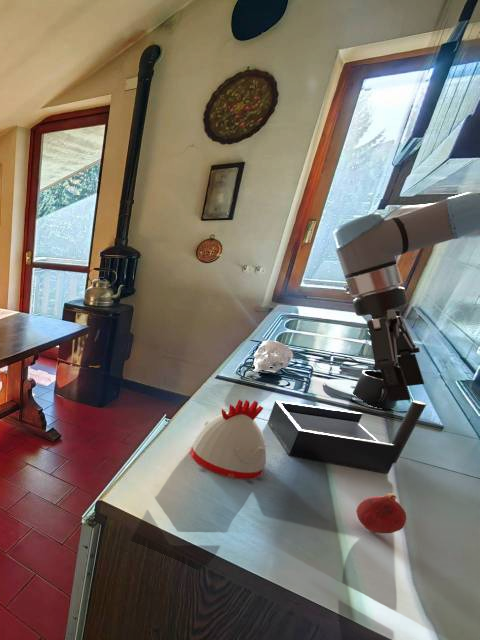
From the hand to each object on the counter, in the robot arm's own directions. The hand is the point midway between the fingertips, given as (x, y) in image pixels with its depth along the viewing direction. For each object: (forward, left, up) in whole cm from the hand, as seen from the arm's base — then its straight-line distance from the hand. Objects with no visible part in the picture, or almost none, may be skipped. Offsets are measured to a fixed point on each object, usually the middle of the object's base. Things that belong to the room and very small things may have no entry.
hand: (407, 392), depth 79 cm
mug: (+37, -28, -19) cm, 50 cm away
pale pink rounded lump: (+65, -14, -19) cm, 69 cm away
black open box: (+9, +4, -18) cm, 21 cm away
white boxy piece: (+8, +3, -17) cm, 19 cm away
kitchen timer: (-1, +31, -19) cm, 36 cm away
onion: (-21, +16, -19) cm, 33 cm away
